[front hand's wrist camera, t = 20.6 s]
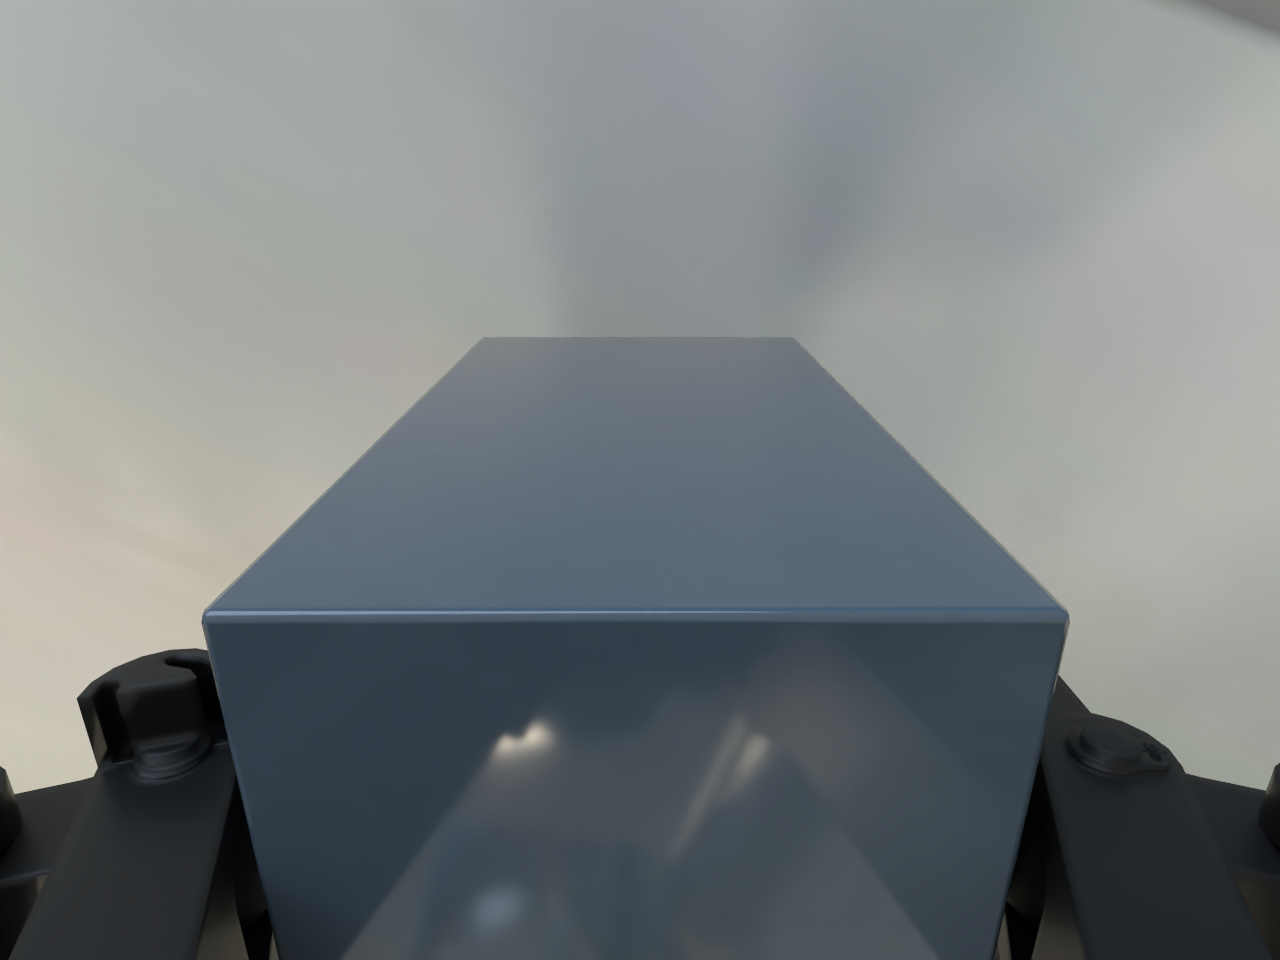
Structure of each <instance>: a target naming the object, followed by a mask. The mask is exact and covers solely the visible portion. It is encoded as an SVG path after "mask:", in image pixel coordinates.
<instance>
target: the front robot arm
mask: <svg viewBox="0 0 1280 960" xmlns="http://www.w3.org/2000/svg"><path fill="white" fill-rule="evenodd" d="M77 701H78V704H79V707H80V710H81V714H82V717H83V720H84V723H85V727H86V730H87V733H88V736H89V740H90V743H91V746H92V749H93V753H94V756H95V759H96V762H97V766H98V769H97V771H96V773H95V775H94V777H92V778H88V779H84V780H80V781H76V782H71V783H66V784H61V785H57V786H52V787H47V788H42V789H37V790H33V791H28V792H23V793H18V794H14V792H13V790H12V787H11V784H10V781H9V778H8V776H7V773H6V770H5V769H3V768H2V767H0V960H279V958H278V954H277V949H276V945H275V940H274V936H273V932H272V927H271V923H270V919H269V914H268V910H267V906H266V901H265V897H264V892H263V888H262V884H261V879H260V875H259V871H258V866H257V862H256V858H255V853H254V849H253V845H252V840H251V836H250V831H249V827H248V823H247V818H246V814H245V810H244V805H243V801H242V797H241V792H240V788H239V784H238V779H237V775H236V770H235V766H234V762H233V757H232V753H231V749H230V744H229V740H228V736H227V731H226V727H225V723H224V718H223V714H222V709H221V705H220V701H219V696H218V692H217V688H216V683H215V679H214V675H213V670H212V666H211V661H210V657H209V653H208V651H207V650H201V649H196V648H194V649H178V650H168V651H164V652H159V653H155V654H151V655H147V656H142V657H140V658H137V659H135V660H132V661H130V662H127V663H125V664H123V665H120V666H118V667H115V668H113V669H112V670H110V671H109V672H107V673H105V674H104V675H102V676H101V677H99V678H97V679H96V680H94V681H93V682H91V683H90V684H89V685H88V687H87V688H86V689H85V690H84V691H83V692H82V693H81V694H80V695H79V697H78V698H77ZM994 960H1280V763H1279V764H1278V765H1276V766H1275V768H1274V771H1273V774H1272V776H1271V779H1270V782H1269V785H1268V787H1267V790H1266V791H1264V790H1259V789H1255V788H1250V787H1245V786H1240V785H1235V784H1231V783H1226V782H1221V781H1216V780H1211V779H1207V778H1202V777H1197V776H1194V775H1190V774H1186V773H1185V772H1184V769H1183V767H1182V766H1181V764H1180V763H1179V762H1178V760H1177V759H1176V758H1175V757H1174V755H1173V754H1172V753H1171V751H1170V750H1169V749H1168V748H1167V747H1165V746H1164V745H1163V744H1161V743H1160V742H1158V741H1157V740H1156V739H1154V738H1153V737H1152V736H1150V735H1149V734H1148V733H1146V732H1143V731H1141V730H1139V729H1137V728H1135V727H1133V726H1131V725H1129V724H1127V723H1124V722H1122V721H1119V720H1116V719H1112V718H1108V717H1105V716H1101V715H1097V714H1092V713H1091V712H1090V711H1089V710H1088V709H1087V708H1086V707H1085V705H1084V704H1083V703H1082V702H1081V701H1080V700H1079V698H1078V697H1077V696H1076V695H1075V694H1074V693H1073V691H1072V690H1071V689H1070V688H1069V687H1068V685H1067V684H1066V683H1065V682H1064V681H1063V680H1062V678H1061V677H1060V676H1059V675H1058V677H1057V681H1056V686H1055V690H1054V695H1053V699H1052V704H1051V708H1050V713H1049V717H1048V721H1047V726H1046V730H1045V735H1044V739H1043V744H1042V748H1041V752H1040V757H1039V761H1038V766H1037V770H1036V775H1035V779H1034V783H1033V788H1032V792H1031V797H1030V801H1029V806H1028V810H1027V814H1026V819H1025V823H1024V828H1023V832H1022V837H1021V841H1020V846H1019V850H1018V854H1017V859H1016V863H1015V868H1014V872H1013V877H1012V881H1011V885H1010V890H1009V894H1008V899H1007V903H1006V908H1005V912H1004V916H1003V921H1002V925H1001V930H1000V934H999V939H998V943H997V947H996V952H995V956H994Z"/></svg>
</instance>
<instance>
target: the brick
mask: <svg viewBox="0 0 1280 960" xmlns="http://www.w3.org/2000/svg"><path fill="white" fill-rule="evenodd" d="M1069 624H1070V620H1069V614H1068V611H1067V609H1066V608H1065V607H1064V606H1063V605H1062V604H1061V603H1060V602H1059V601H1058V600H1057V599H1056V598H1055V597H1054V596H1053V595H1052V594H1051V593H1050V592H1049V591H1048V590H1047V589H1046V588H1045V587H1044V586H1043V585H1042V584H1041V583H1040V582H1039V581H1038V580H1037V579H1036V578H1035V577H1034V576H1033V575H1032V574H1031V573H1030V572H1029V571H1028V570H1026V569H1025V568H1024V567H1023V566H1022V565H1021V564H1020V563H1019V562H1018V561H1017V560H1016V559H1015V558H1014V557H1013V556H1012V555H1011V554H1010V553H1009V552H1008V551H1007V550H1006V549H1005V548H1004V547H1003V546H1002V545H1001V544H1000V543H999V542H998V541H997V540H996V539H995V538H994V537H993V536H992V535H991V534H990V533H989V532H988V531H987V530H986V529H985V528H984V527H983V526H982V525H981V524H980V523H979V522H978V521H977V520H976V519H975V518H974V517H973V516H972V515H971V514H970V513H969V512H968V511H967V510H966V509H965V508H964V507H963V506H962V505H961V504H960V503H959V502H958V501H957V500H956V499H955V498H954V497H953V496H952V495H951V494H950V493H949V492H948V491H947V490H946V489H945V488H944V487H943V486H942V485H941V484H940V483H939V482H938V481H937V480H936V479H935V478H934V477H933V476H932V475H931V474H930V473H929V472H928V471H927V470H926V469H925V468H924V467H923V466H922V465H921V464H920V463H919V462H918V461H917V460H916V459H915V458H914V457H913V456H912V455H911V454H910V453H909V452H908V451H907V450H906V449H905V448H904V447H903V446H902V445H901V444H900V443H899V442H898V441H897V440H896V439H895V438H894V437H893V436H892V435H891V434H890V433H889V432H888V431H887V430H886V429H885V428H884V427H883V426H882V425H881V424H880V423H879V422H878V421H877V420H876V419H875V418H874V417H873V416H872V415H871V414H870V413H869V412H868V411H867V410H866V409H865V408H864V407H863V406H862V405H861V404H860V403H859V402H858V401H857V400H856V399H855V398H854V397H853V396H852V395H851V394H850V393H849V392H848V391H847V390H846V389H845V388H844V387H843V386H842V385H841V384H840V383H839V382H838V381H837V380H836V379H835V378H834V377H833V376H832V375H831V374H830V373H829V372H828V371H827V370H826V369H825V368H824V367H823V366H822V365H821V364H820V363H819V362H818V361H817V360H816V359H815V358H814V357H813V356H812V355H811V354H810V353H809V352H808V351H807V350H806V349H805V348H804V347H803V346H802V345H801V344H800V343H799V342H798V341H797V340H796V339H794V338H702V337H484V338H482V339H481V340H480V341H478V342H477V343H476V344H475V345H474V346H473V347H472V348H471V349H470V350H469V351H468V352H467V353H466V354H465V355H464V356H463V357H462V358H461V359H460V360H459V361H458V362H457V363H456V364H455V365H454V366H453V367H452V368H451V369H450V370H449V371H448V372H447V373H446V374H445V375H444V376H443V377H442V378H441V379H440V380H439V381H438V382H437V383H436V384H435V385H434V386H433V387H432V388H431V389H429V390H428V391H427V392H426V393H425V394H424V395H423V396H422V397H421V398H420V399H419V400H418V401H417V402H416V403H415V404H414V405H413V406H412V407H411V408H410V409H409V410H408V411H407V412H406V413H405V414H404V415H403V416H402V417H401V418H400V419H399V420H398V421H397V422H396V423H395V424H394V425H393V426H392V427H391V428H390V429H389V430H388V431H387V432H386V433H385V434H384V435H383V436H382V437H380V438H379V439H378V440H377V441H376V442H375V443H374V444H373V445H372V446H371V447H370V448H369V449H368V450H367V451H366V452H365V453H364V454H363V455H362V456H361V457H360V458H359V459H358V460H357V461H356V462H355V463H354V464H353V465H352V466H351V467H350V468H349V469H348V470H347V471H346V472H345V473H344V474H343V475H342V476H341V477H340V478H339V479H338V480H337V481H336V482H335V483H334V484H333V485H331V486H330V487H329V488H328V489H327V490H326V491H325V492H324V493H323V494H322V495H321V496H320V497H319V498H318V499H317V500H316V501H315V502H314V503H313V504H312V505H311V506H310V507H309V508H308V509H307V510H306V511H305V512H304V513H303V514H302V515H301V516H300V517H299V518H298V519H297V520H296V521H295V522H294V523H293V524H292V525H291V526H290V527H289V528H288V529H287V530H286V531H285V532H283V533H282V534H281V535H280V536H279V537H278V538H277V539H276V540H275V541H274V542H273V543H272V544H271V545H270V546H269V547H268V548H267V549H266V550H265V551H264V552H263V553H262V554H261V555H260V556H259V557H258V558H257V559H256V560H255V561H254V562H253V563H252V564H251V565H250V566H249V567H248V568H247V569H246V570H245V571H244V572H243V573H242V574H241V575H240V576H239V577H238V578H237V579H236V580H234V581H233V582H232V583H231V584H230V585H229V586H228V587H227V588H226V589H225V590H224V591H223V592H222V593H221V594H220V595H219V596H218V597H217V598H216V599H215V600H214V601H213V602H212V603H211V604H210V605H209V606H208V607H207V608H206V609H205V610H204V613H203V616H202V627H203V631H204V635H205V640H206V644H207V648H208V653H209V657H210V661H211V666H212V670H213V675H214V679H215V683H216V688H217V692H218V696H219V701H220V705H221V709H222V714H223V718H224V723H225V727H226V731H227V736H228V740H229V744H230V749H231V753H232V757H233V762H234V766H235V770H236V775H237V779H238V784H239V788H240V792H241V797H242V801H243V805H244V810H245V814H246V818H247V823H248V827H249V831H250V836H251V840H252V845H253V849H254V853H255V858H256V862H257V866H258V871H259V875H260V879H261V884H262V888H263V892H264V897H265V901H266V906H267V910H268V914H269V919H270V923H271V927H272V932H273V936H274V940H275V945H276V949H277V954H278V958H279V960H994V956H995V952H996V947H997V943H998V939H999V934H1000V930H1001V925H1002V921H1003V916H1004V912H1005V908H1006V903H1007V899H1008V894H1009V890H1010V885H1011V881H1012V877H1013V872H1014V868H1015V863H1016V859H1017V854H1018V850H1019V846H1020V841H1021V837H1022V832H1023V828H1024V823H1025V819H1026V814H1027V810H1028V806H1029V801H1030V797H1031V792H1032V788H1033V783H1034V779H1035V775H1036V770H1037V766H1038V761H1039V757H1040V752H1041V748H1042V744H1043V739H1044V735H1045V730H1046V726H1047V721H1048V717H1049V713H1050V708H1051V704H1052V699H1053V695H1054V690H1055V686H1056V681H1057V677H1058V673H1059V668H1060V664H1061V659H1062V655H1063V650H1064V646H1065V642H1066V637H1067V633H1068V628H1069Z"/></svg>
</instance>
